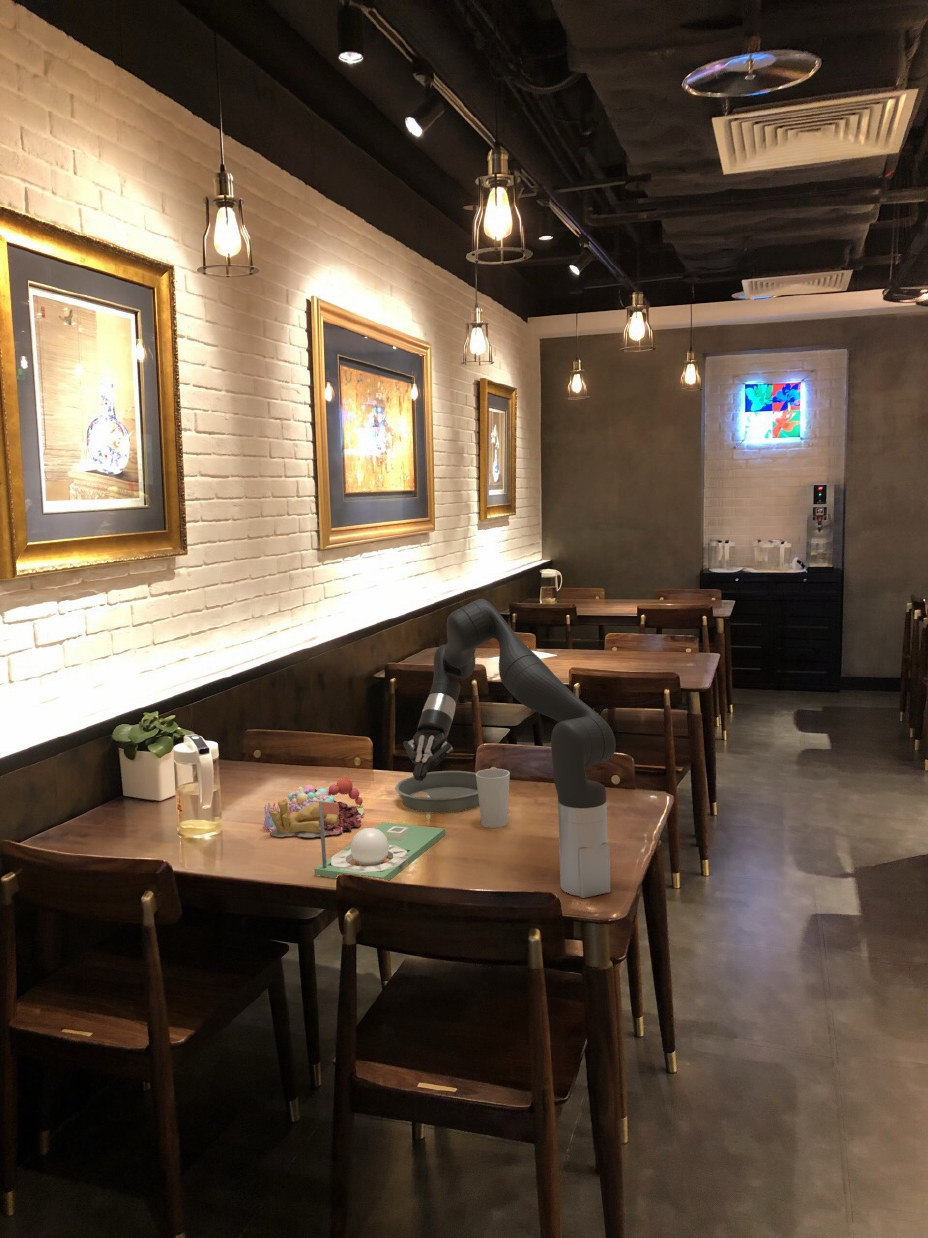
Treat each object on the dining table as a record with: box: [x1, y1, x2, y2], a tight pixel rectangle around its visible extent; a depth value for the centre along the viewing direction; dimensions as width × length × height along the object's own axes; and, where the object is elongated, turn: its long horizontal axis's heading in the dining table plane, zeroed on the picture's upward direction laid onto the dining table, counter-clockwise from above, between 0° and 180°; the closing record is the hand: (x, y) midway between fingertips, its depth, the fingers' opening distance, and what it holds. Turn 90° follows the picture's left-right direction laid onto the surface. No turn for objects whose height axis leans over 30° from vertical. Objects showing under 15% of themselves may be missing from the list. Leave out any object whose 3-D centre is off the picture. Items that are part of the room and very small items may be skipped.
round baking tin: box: [394, 770, 480, 814], centre depth 242 cm, size 25×25×4 cm
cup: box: [475, 768, 511, 829], centre depth 222 cm, size 8×8×12 cm
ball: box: [350, 827, 389, 867], centre depth 199 cm, size 8×8×8 cm
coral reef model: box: [263, 777, 365, 838], centre depth 228 cm, size 25×24×9 cm
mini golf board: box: [313, 801, 446, 881], centre depth 204 cm, size 30×16×16 cm, turn 157°
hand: (417, 779), depth 219 cm, fingers closed
